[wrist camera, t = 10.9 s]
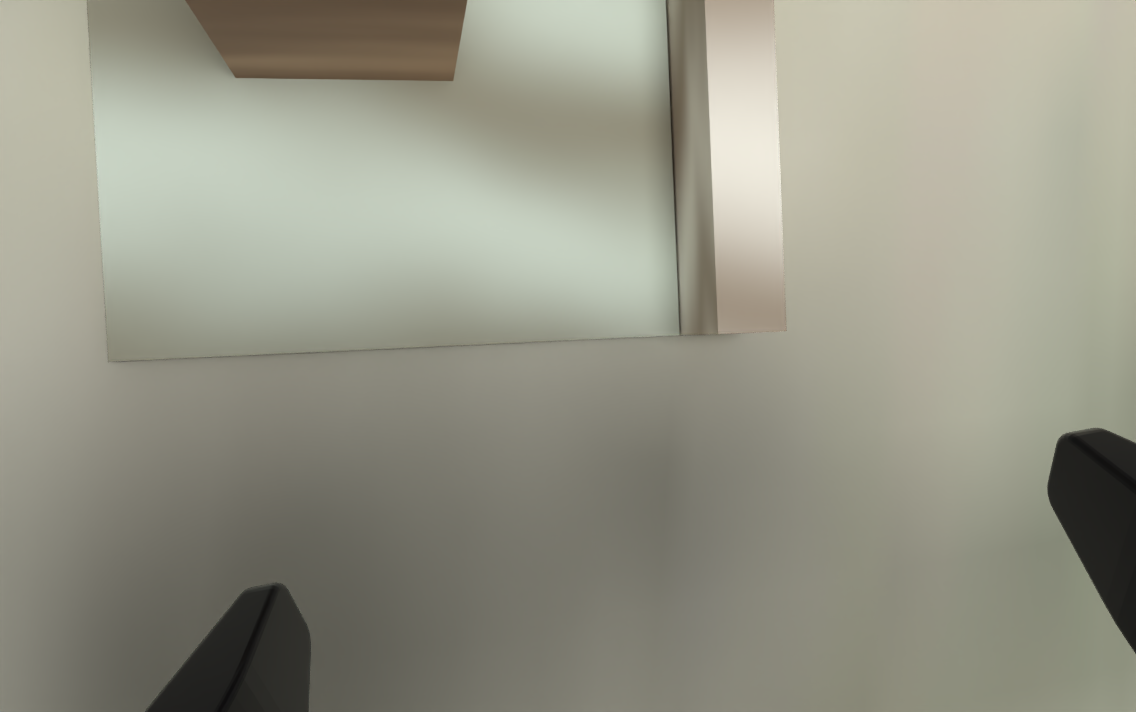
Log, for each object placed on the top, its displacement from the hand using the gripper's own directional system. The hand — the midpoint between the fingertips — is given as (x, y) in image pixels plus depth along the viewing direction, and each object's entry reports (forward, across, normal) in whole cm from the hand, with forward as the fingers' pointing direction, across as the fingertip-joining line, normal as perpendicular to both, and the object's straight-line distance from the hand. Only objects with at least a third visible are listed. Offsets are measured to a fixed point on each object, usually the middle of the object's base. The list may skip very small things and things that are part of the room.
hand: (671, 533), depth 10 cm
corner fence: (+13, +2, -3) cm, 13 cm away
